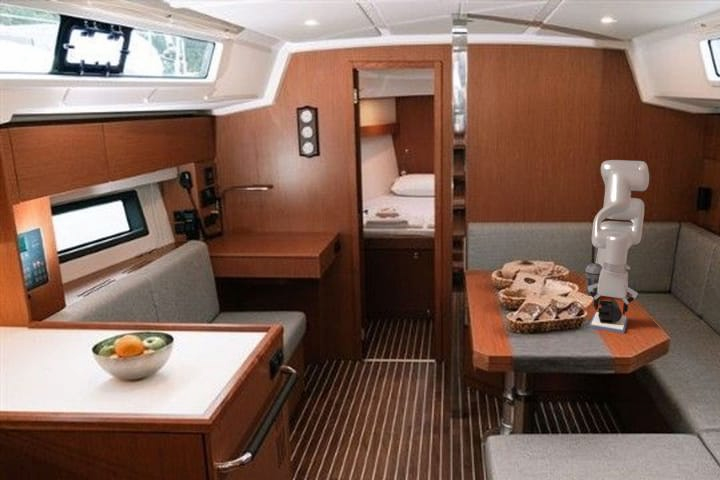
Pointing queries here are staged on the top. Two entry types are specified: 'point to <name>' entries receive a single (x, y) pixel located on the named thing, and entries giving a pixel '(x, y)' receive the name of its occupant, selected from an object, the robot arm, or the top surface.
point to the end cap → (609, 312)
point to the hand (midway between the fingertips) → (610, 310)
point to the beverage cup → (592, 275)
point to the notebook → (615, 327)
